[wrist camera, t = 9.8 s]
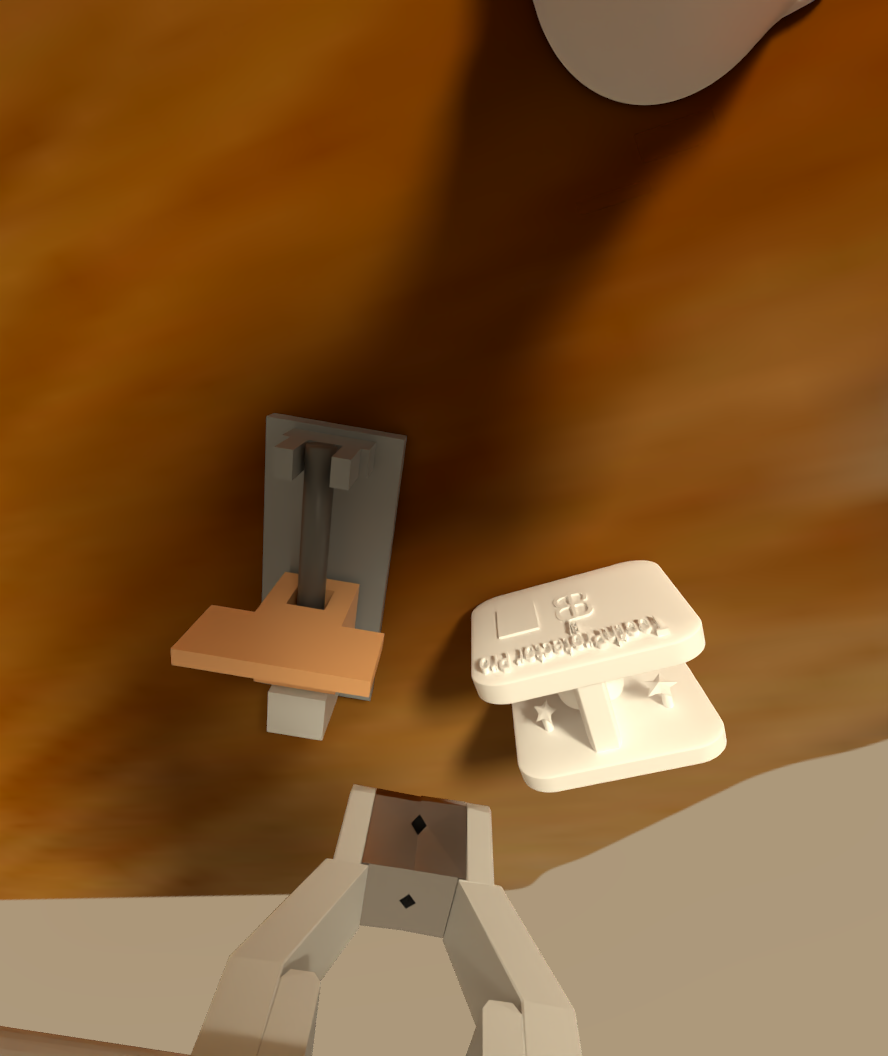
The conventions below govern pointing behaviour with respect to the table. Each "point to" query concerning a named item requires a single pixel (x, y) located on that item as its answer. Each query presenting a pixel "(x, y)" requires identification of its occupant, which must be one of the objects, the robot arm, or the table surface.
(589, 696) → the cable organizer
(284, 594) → the orange piece
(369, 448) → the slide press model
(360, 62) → the table surface
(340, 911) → the robot arm
